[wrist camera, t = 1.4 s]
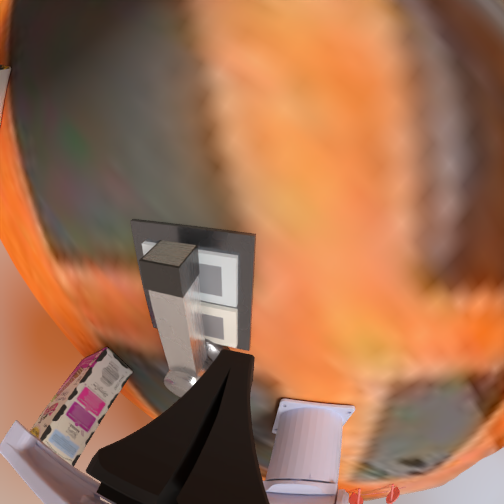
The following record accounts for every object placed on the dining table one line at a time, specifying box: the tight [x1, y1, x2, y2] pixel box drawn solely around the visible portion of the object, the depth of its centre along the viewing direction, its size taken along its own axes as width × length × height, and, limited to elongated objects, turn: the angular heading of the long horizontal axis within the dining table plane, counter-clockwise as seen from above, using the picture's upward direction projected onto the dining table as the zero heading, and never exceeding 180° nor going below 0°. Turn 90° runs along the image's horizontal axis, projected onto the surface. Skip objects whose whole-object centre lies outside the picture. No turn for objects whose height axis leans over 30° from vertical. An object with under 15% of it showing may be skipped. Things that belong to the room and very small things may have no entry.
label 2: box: [201, 302, 238, 348], centre depth 21 cm, size 4×7×1 cm, turn 88°
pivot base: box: [205, 338, 230, 363], centre depth 23 cm, size 6×6×1 cm
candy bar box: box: [29, 347, 133, 466], centre depth 24 cm, size 11×5×16 cm, turn 128°
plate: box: [131, 219, 256, 351], centre depth 20 cm, size 10×9×1 cm
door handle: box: [139, 240, 212, 397], centre depth 18 cm, size 14×4×3 cm, turn 178°
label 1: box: [142, 241, 238, 307], centre depth 19 cm, size 4×7×1 cm, turn 87°
